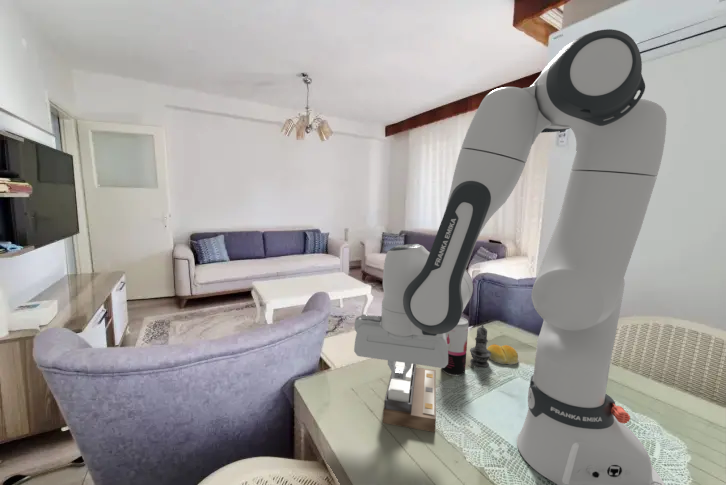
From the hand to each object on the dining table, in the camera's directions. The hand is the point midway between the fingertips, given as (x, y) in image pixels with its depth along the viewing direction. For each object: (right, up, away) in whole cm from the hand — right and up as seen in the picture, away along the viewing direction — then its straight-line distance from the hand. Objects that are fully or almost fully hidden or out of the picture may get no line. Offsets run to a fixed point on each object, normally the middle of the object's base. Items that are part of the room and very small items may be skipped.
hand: (399, 378), depth 69 cm
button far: (+3, -3, +12) cm, 13 cm away
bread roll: (+35, -6, +27) cm, 45 cm away
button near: (0, -4, +1) cm, 4 cm away
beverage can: (+18, -7, +20) cm, 27 cm away
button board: (+4, -8, +6) cm, 11 cm away
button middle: (+1, -3, +6) cm, 7 cm away
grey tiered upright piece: (+27, -6, +24) cm, 36 cm away
